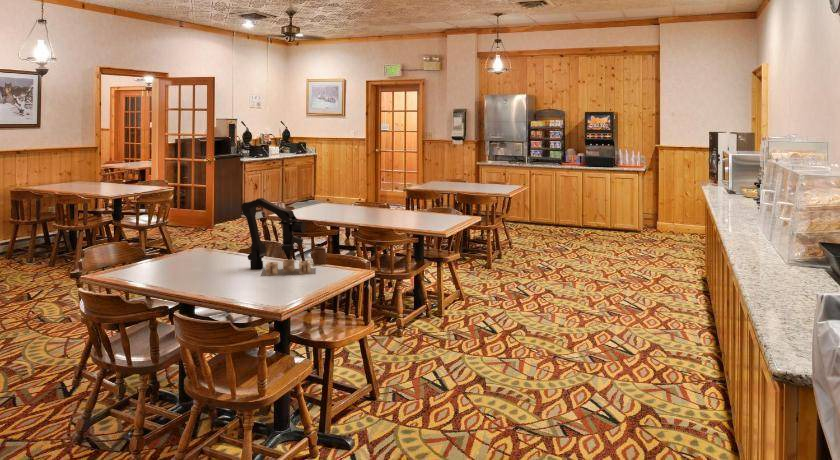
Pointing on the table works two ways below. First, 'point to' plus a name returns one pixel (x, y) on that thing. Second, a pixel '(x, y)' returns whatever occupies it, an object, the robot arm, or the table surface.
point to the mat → (296, 272)
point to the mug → (319, 256)
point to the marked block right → (304, 267)
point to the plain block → (288, 265)
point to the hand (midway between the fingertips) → (288, 259)
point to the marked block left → (271, 268)
